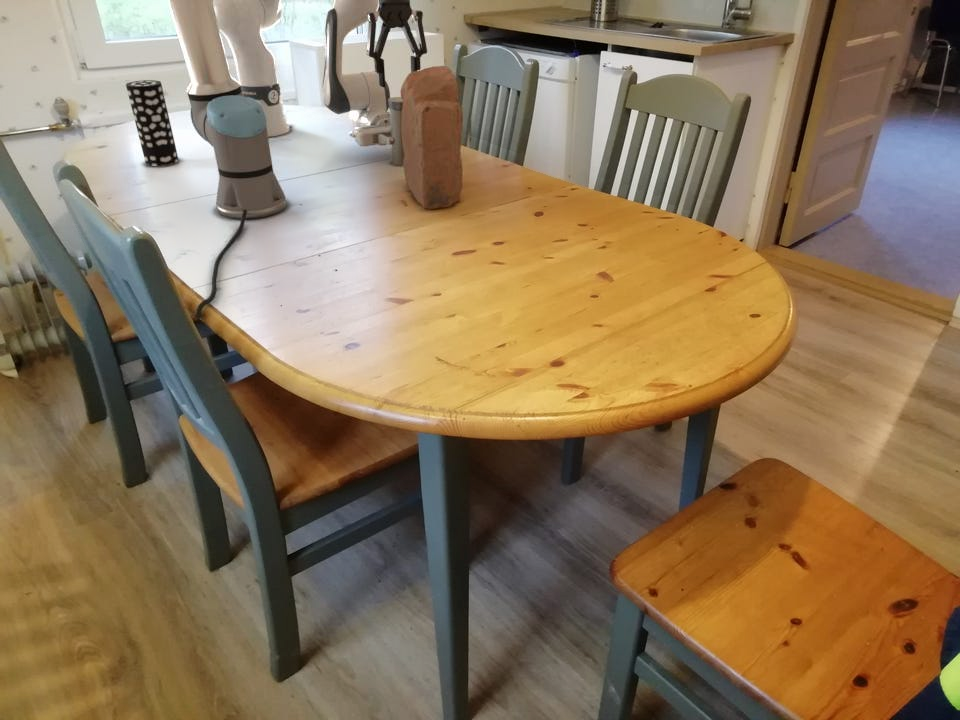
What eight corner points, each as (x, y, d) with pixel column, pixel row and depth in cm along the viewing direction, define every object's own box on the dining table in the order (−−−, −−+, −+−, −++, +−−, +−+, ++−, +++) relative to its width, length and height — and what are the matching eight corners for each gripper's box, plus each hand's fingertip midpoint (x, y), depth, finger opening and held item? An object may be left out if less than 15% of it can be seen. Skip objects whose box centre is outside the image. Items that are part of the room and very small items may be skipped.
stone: (472, 206, 159) (470, 76, 145) (424, 211, 156) (418, 79, 142) (446, 181, 177) (443, 63, 162) (403, 185, 174) (396, 65, 159)
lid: (407, 110, 177) (406, 102, 176) (385, 109, 178) (384, 101, 177) (413, 105, 182) (413, 97, 181) (392, 104, 183) (391, 96, 182)
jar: (409, 166, 186) (406, 104, 177) (390, 165, 187) (386, 102, 178) (414, 160, 190) (412, 99, 181) (396, 159, 191) (392, 98, 182)
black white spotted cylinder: (184, 157, 190) (167, 80, 179) (169, 166, 183) (151, 87, 172) (155, 156, 190) (136, 79, 179) (139, 165, 183) (119, 86, 172)
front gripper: (355, -13, 159) (363, 91, 171) (439, -15, 166) (441, 84, 178) (347, -16, 164) (355, 85, 177) (428, -18, 172) (431, 79, 184)
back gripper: (345, 121, 188) (365, 132, 178) (413, 112, 197) (435, 123, 187) (348, 144, 191) (367, 157, 181) (414, 135, 200) (436, 146, 190)
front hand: (398, 84), depth 177 cm, fingers open, 8 cm apart
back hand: (402, 139), depth 184 cm, fingers closed on jar, 5 cm apart
